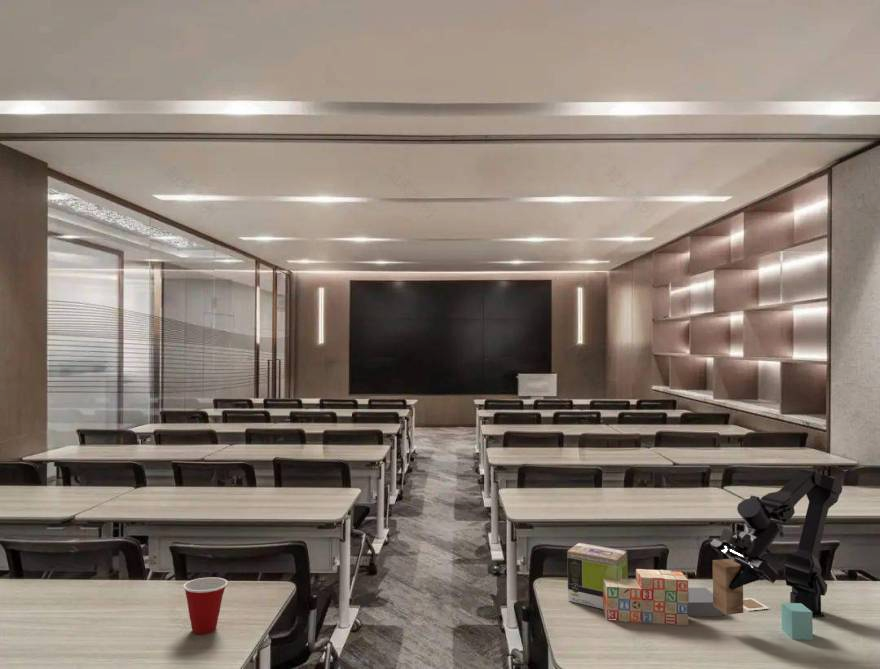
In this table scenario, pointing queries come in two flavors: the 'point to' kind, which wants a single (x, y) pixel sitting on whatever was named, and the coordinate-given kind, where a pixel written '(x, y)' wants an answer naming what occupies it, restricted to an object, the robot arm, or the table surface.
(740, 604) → the walnut block
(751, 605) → the card
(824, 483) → the robot arm
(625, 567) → the tea box
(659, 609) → the stack of blocks
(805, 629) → the teal block
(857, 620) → the table surface
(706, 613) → the base block
